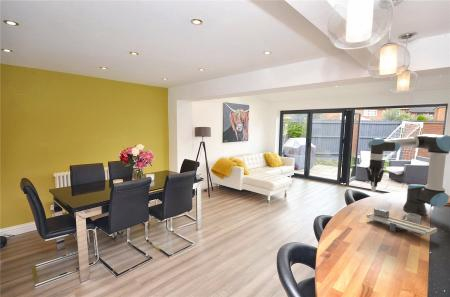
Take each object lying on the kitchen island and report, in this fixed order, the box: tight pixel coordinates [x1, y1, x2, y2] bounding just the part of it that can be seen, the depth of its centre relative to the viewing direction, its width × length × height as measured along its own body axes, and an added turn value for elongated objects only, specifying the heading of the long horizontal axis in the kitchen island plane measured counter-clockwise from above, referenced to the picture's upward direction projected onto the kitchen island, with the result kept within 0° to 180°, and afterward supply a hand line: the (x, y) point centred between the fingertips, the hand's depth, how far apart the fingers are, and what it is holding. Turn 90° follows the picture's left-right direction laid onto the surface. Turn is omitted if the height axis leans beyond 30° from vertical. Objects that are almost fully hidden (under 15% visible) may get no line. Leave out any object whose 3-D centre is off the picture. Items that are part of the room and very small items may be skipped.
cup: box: [401, 212, 422, 225], centre depth 158 cm, size 7×10×9 cm
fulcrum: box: [389, 218, 407, 234], centre depth 153 cm, size 15×3×6 cm, turn 117°
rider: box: [373, 207, 390, 219], centre depth 162 cm, size 4×8×6 cm, turn 27°
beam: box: [365, 212, 438, 236], centre depth 153 cm, size 12×36×2 cm, turn 27°
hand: (373, 190), depth 167 cm, fingers closed
